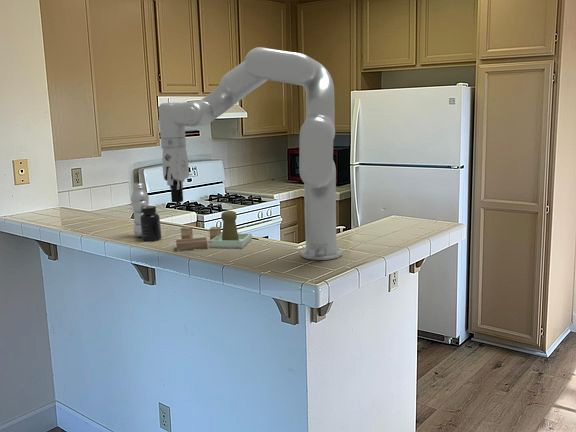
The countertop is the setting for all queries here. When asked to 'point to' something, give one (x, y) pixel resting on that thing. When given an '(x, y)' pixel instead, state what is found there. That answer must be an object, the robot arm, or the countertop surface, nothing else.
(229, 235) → the cork
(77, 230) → the countertop surface
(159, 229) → the supplement bottle
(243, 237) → the tray
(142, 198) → the plastic bottle
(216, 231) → the bench dogs
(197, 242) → the wooden block
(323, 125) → the robot arm
